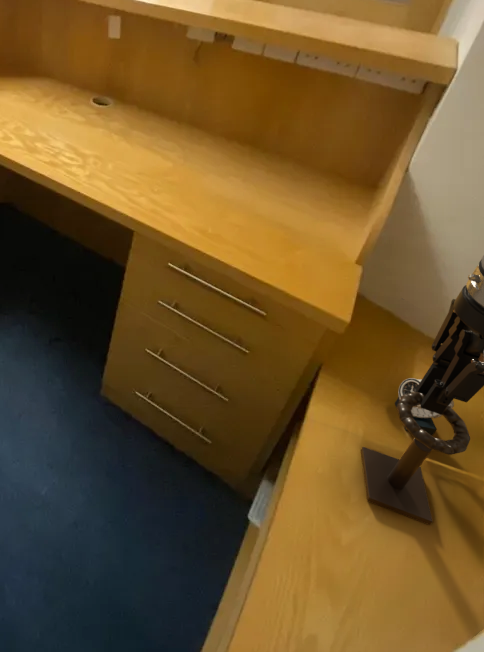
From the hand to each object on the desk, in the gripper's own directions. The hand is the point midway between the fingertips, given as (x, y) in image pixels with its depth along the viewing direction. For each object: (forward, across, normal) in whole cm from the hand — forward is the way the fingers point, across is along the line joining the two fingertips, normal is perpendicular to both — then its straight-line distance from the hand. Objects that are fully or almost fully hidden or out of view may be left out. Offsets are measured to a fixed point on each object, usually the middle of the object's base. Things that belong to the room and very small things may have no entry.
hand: (428, 400), depth 82 cm
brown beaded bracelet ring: (0, +4, 0) cm, 4 cm away
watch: (+18, -10, +5) cm, 21 cm away
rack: (+18, +4, 0) cm, 19 cm away
